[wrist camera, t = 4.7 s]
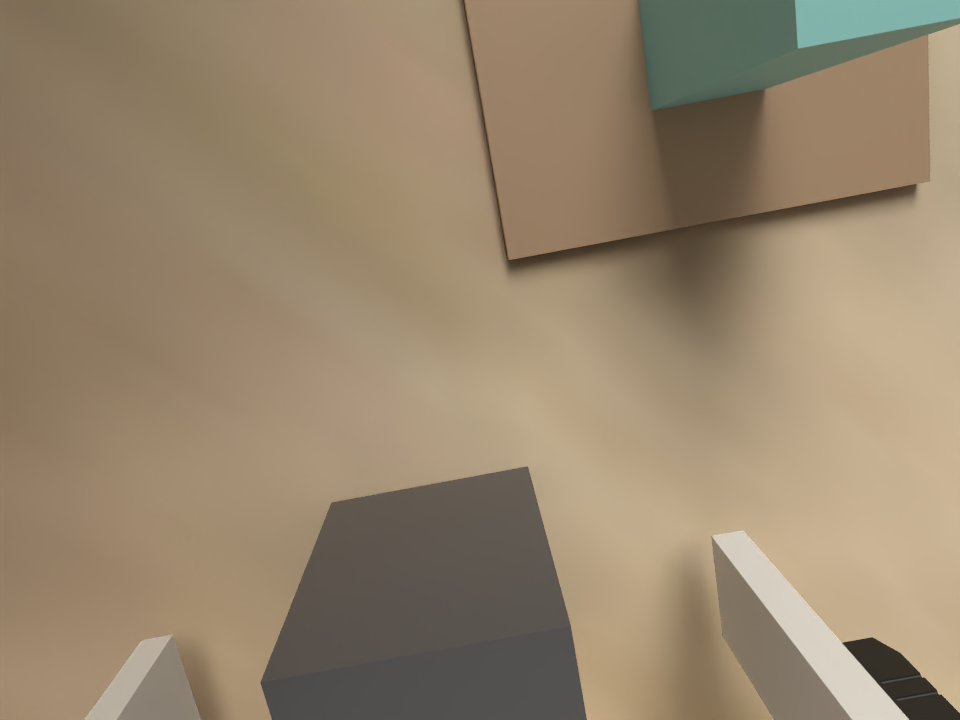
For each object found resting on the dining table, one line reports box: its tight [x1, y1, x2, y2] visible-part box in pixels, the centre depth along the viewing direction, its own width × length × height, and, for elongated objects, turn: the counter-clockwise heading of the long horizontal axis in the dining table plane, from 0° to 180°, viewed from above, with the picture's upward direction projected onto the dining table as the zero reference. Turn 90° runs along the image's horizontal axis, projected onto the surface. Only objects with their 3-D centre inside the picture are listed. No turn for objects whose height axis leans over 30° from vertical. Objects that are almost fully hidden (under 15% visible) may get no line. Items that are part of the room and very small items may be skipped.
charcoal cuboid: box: [261, 467, 587, 720], centre depth 15 cm, size 5×5×7 cm
